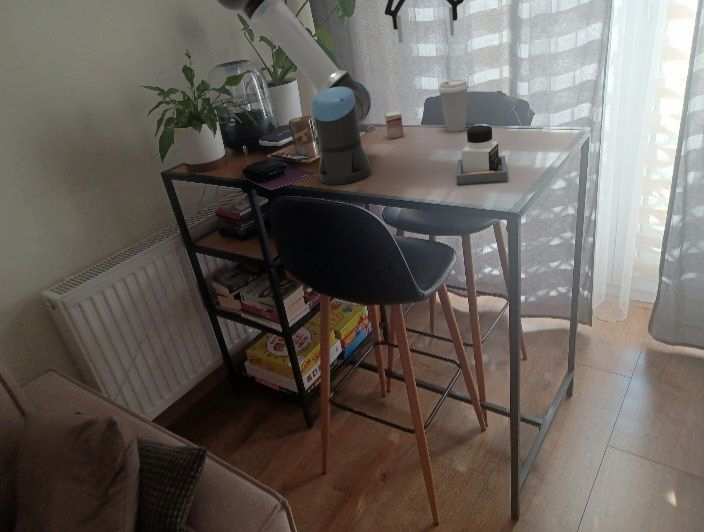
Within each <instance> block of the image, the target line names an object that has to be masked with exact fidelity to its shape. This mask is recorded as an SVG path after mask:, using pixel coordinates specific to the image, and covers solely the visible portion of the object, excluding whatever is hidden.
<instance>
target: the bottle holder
mask: <svg viewBox="0 0 704 532" xmlns="http://www.w3.org/2000/svg"><path fill="white" fill-rule="evenodd" d="M456 167H457V168H456V186H465V185H481V184H493V183H495V184H496V183H505V182H506V183H507V182H508V169H507V161H506V155H499V168H498V169H497V170H496V171H484V172H471V173H468V174H463V166H462V158H460V159H457V166H456Z"/></svg>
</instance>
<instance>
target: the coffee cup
mask: <svg viewBox="0 0 704 532" xmlns="http://www.w3.org/2000/svg"><path fill="white" fill-rule="evenodd" d="M468 89H469V83H467V80H465V79H461V78H460V79H450V80H445V81H442V82H441V83H440V84H439V87H438V93H439V94H440V95H439V96H440V100H441V105H442V106H441V107H442V112H443V113H442V114H443V119H444V126H445V131H446V132H449V133H457V132H461V131H464V130H467V109H468V107H467V105H468Z"/></svg>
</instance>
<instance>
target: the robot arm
mask: <svg viewBox="0 0 704 532" xmlns="http://www.w3.org/2000/svg"><path fill="white" fill-rule="evenodd" d="M394 1H395V0H387V3H386V6H385V9H384V15H385V16H390V17H391V19H392V26H393V30H394V31H396V30H397V36H398V37H397V39H398V44H402V43H403V42H404V38H403V28H402V19H401V18H402V17H401V15H399V14H398V13H399V12H400V10H401V8H402V6H403V5H404V3H405V2H406V0H398V2H397V3H396V5H395V7H394V8H393V4H394ZM216 2H218V3H219V4H220V5H221V6H222V7H224V8H225V9H228V10H230V11H231V10H232V11H242V12H243V13H244V14H245V15H246V17H247V18H248V19H249V21H251V23H258V24H260V25H261V26H262V27H263V28H264V29H265V31H266V32H267V33H268V35H270V36H271V38H272V39H273V40H274V41H275V42H276V43H277V45H278V46H279V48H281V49H282V51H283V52H284V53H285V54H286V56H287V57H288V58H289V59H290V60H291V61H292V62H293V64H294V65H295V66H296V67H297V68H298V70H299V71H300V72H301V73H302V75H303V76H305V78H306V79H307V81H308V82H309V83H310V84H311V85H312V86H313V87H314V88H315V90H316V92H317V93H316V94H315V95H314V96H313V97H312V100H311V108H312V109H311V110H312V111H311V112H312V115H313V120H314V124H315V130H316V135H317V139H318V145H319V150H320V157H319V166H318V167H319V168H318V175H319V181H320V182H321V183H322V184H326V185H333V186H334V185H335V186H336V185H337V186H339V185H345V184H351V183H355V182H358V181H361V180H364V179H365V178H367V177H368V176H370V175H371V174H372V165H371V162H370V159H369V158H368V155H367V153H366V151H365V150H364V147H363V145H362V140H361V139H362V138H361V133H360V126H359V125H360V124H362V122H363V121H364V120H365V119H367V117H368V115H369V113H370V110H371V107H372V96H371V93H370V90H369V89H368V87H367V86H366V85H365V84H364V83H362V82H360V81H358V80H355V79H354V77H353V76H351V74H350V73H349V72H348V71H347V70H341V69H339V68H338V67H337V66H336V64H335V63H334V62H333V61H332V60H331V58H330V57H329V56H328V55H327V54H326V52H325V51H324V50H323V48H322V47H321V46H320V45H319V43H317V41H316V40H315V39H314V37H312V36H311V34H310V33H309V32H308V31H307V29H306V28H305V27H304V26H303V24H302V23H301V22H300V21H299V19H298V18H297V17H296V16H295V15H294V13H293V12H292V11H291V10H290V8H288V5H286V3H284V1H283V0H216ZM446 2H448V4H449V5H450V6H449V8H448V12H449V15H448V17H449V29H450V31H449V32H450V37H451V36H452V37H453V36H455V28H454V21H456V22H457V20H458V6H459V5H461V4H463V3H464V2H465V1H464V0H446ZM392 8H393V9H392Z"/></svg>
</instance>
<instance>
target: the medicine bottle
mask: <svg viewBox="0 0 704 532" xmlns="http://www.w3.org/2000/svg"><path fill="white" fill-rule="evenodd" d="M466 137H467V138H466V139H467V142H466V144H467V145H466V146H465V147H464V148H463V149H462V150H461V159H462V166H463V174H468V173H471V172H484V171H496V170H497V169H498V168H499V156H500V154H499V142H498V141H493V127H492V126H491V125H489V124H483V123H481V124H474V125H472V126H470V127H468V128H466Z"/></svg>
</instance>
